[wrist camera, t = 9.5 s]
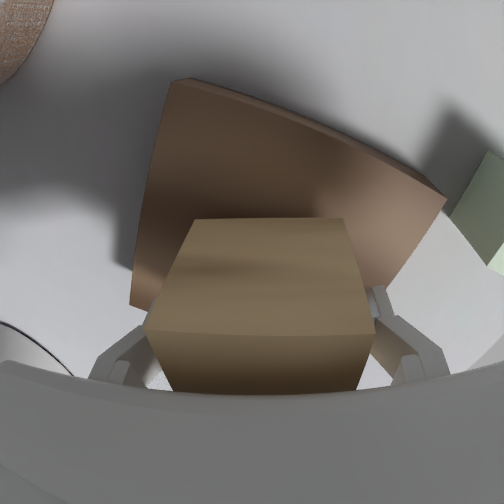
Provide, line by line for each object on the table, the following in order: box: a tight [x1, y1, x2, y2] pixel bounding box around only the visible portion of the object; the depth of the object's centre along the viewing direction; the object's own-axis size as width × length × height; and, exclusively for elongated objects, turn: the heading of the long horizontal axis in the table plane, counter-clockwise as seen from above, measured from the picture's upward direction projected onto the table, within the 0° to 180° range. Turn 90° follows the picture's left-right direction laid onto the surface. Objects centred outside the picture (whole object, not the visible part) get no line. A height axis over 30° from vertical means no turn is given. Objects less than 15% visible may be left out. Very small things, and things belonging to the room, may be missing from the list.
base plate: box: [129, 78, 447, 312], centre depth 15 cm, size 12×12×2 cm
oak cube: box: [143, 218, 376, 395], centre depth 11 cm, size 6×6×6 cm
